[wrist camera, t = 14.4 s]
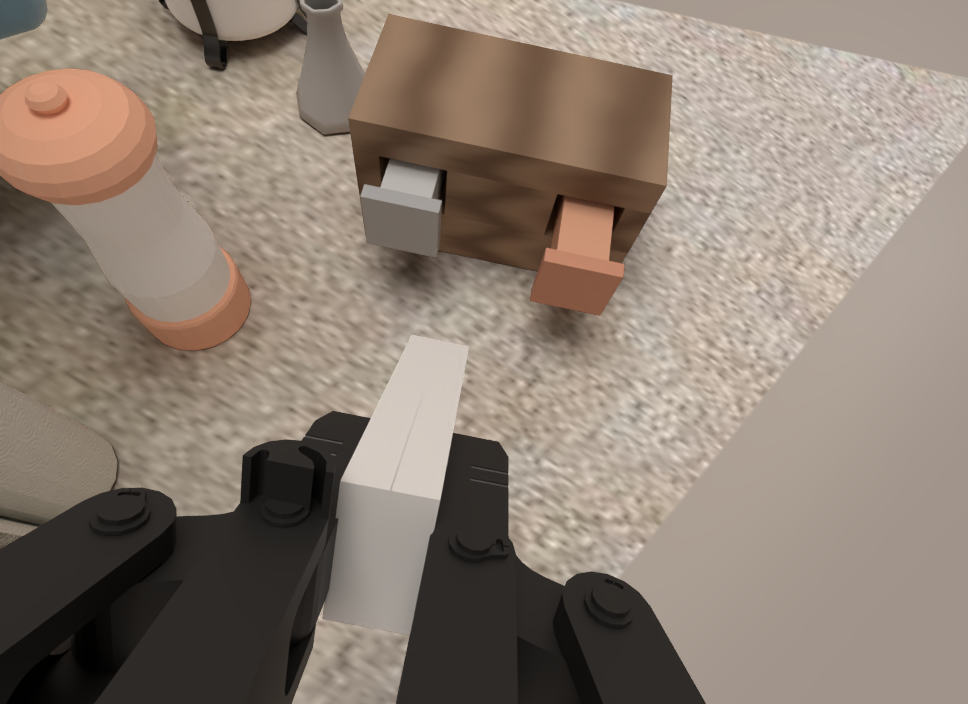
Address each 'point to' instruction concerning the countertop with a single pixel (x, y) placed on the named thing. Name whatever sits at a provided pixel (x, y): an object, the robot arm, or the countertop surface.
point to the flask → (327, 69)
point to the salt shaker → (121, 202)
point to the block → (512, 135)
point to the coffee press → (233, 21)
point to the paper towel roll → (46, 463)
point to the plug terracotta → (579, 259)
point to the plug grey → (405, 208)
